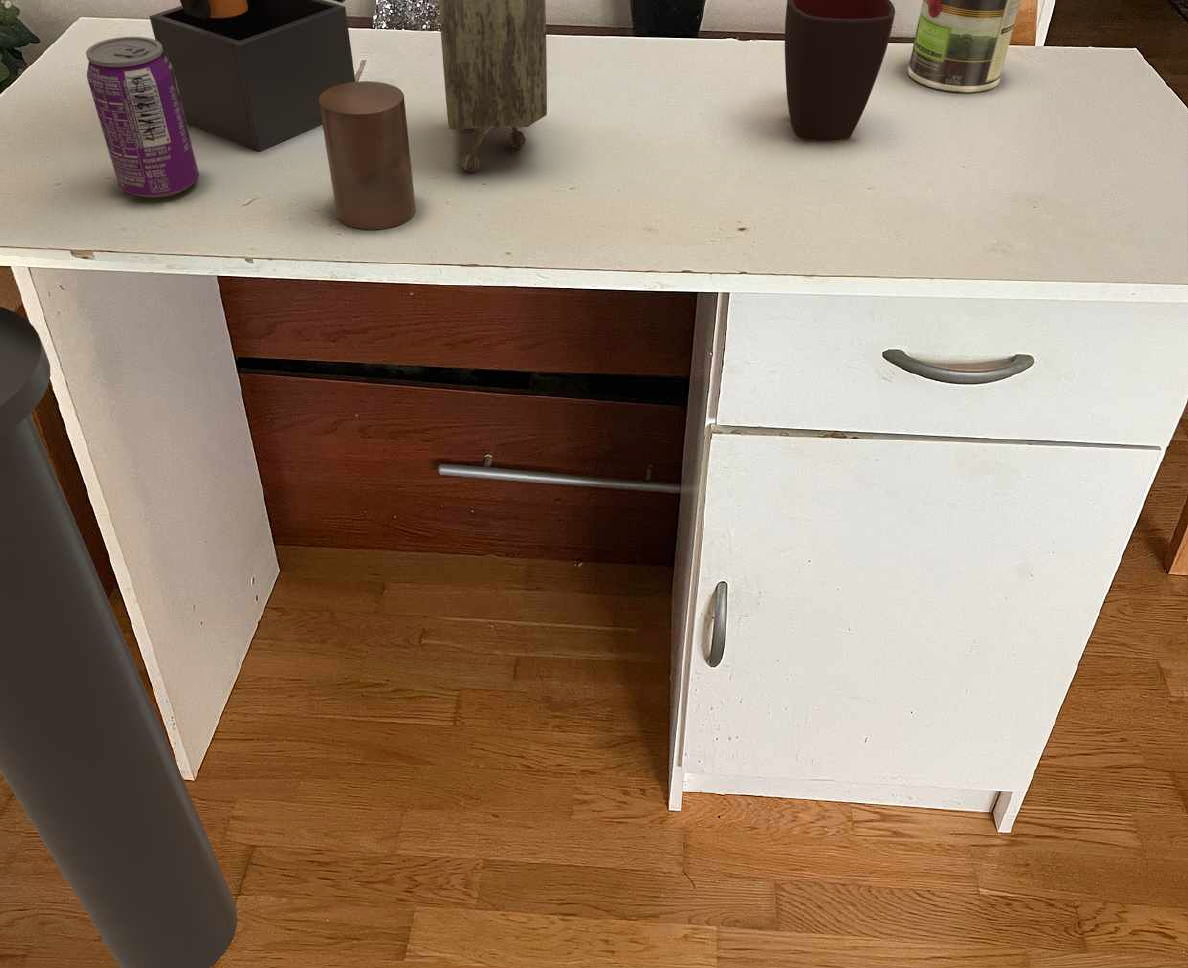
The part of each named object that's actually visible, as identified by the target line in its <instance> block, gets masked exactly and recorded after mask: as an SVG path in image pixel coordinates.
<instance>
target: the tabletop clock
mask: <svg viewBox="0 0 1188 968" xmlns="http://www.w3.org/2000/svg"><path fill="white" fill-rule="evenodd" d="M437 1H438V15H439V26H440V29H439V30H440V41H441V51H442V52H441V54H442V68H443V79H444V92H445V93H444V94H445V103H446V104H445V105H446V116H447V117H446V118H447V127H448V130H465V129H466V130H467V129H469V130H470V129H472V130H473V129H474V134H473V140H472V144H471V148H470V153H467V154H465V155H464V156H463V157H462V159H461V166H462V168H463V170H465V172H468V173H475V172H476V170H478V168H479V166H480V161H479V157H477V154H478V151H479V148H480V146H481V143H482V141H483V139H484V137H485V135H486V134H487V133H488V131H489V130H491V129H504V128H507V129H508V128H510V130H511V131H512V132H511V133H510V134H509V138H508V141H509V143H510V145H511V146H512V147H513V148H516V149H519V148H522V147H524V145H525V143H526V140H527V138H526V136H525V133H524V132H523V131H521V130H519V129H518V128H528V127H531V126H532V125H533V124H535V123H537V122H538V121H539V120H542V119H543V118H544V117H546V116H548V80H547V79H548V67H547V66H548V65H547V63H548V61H547V58H548V57H547V11H546V8H547V7H546V0H437Z"/></svg>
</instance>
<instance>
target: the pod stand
mask: <svg viewBox="0 0 1188 968" xmlns="http://www.w3.org/2000/svg"><path fill="white" fill-rule="evenodd" d="M405 102H406V101H405V95H404V92H403V90H401V89H400V88H399V87H397V86H395V85H393V84H390V83H385V82H380V81H370V80H369V81H368V80H365V81H362V80H361V81H355V82H350V83H345V84H340V85H337V86H334V87H331V88H329V89H327V90H326V91H324V92H323V93H322V94H321V95H320V97H319V105H320V112H321V118H322V124H321V125H322V131H323V137H324V142H325V149H326V156H327V161H328V167H329V175H330V181H331V186H332V195H333V200H334V205H335V211H336V212H335V213H336V217H337V219H338V220H339V221H340V222H341V223H343V224H344V225H346V226H348V227H351V228H354V229H360V230H371V231H373V230H374V231H375V230H385V229H386V230H387V229H390V228H395V227H398V226H400V225H403V224H404V223H407V222H408V221H410V220H411V219H412V218H413V217H414V216H415V214H416V211H417V207H416V198H415V188H414V178H413V169H412V159H411V150H410V140H409V132H408V130H409V129H408V121H407V111H406V103H405Z"/></svg>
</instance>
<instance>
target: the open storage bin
mask: <svg viewBox="0 0 1188 968" xmlns="http://www.w3.org/2000/svg"><path fill="white" fill-rule="evenodd" d="M247 5H248V10H247V11H246V12H245V13H243V14H241V15H238V16H234V17H229V18H207V19H201V18H198V17H195V16H192V15H189V14H186V13H185V12H184V10H183V7H182V5H178V6H177V7H174V8H171V9H168V10H164V11H161V12H158V13H154V14H152V15H149V21H150V25H151V28H152V32H153V37H154V40H156V41H158V42H160V43H161V45H162V48H163V54H164V55H165V56H166V58H167V59H168V60H169V62H170V63H171V65H172V67H173V70H174V74H175V78H176V82H177V86H178V90H179V94H180V98H181V102H182V106H183V111H184V115H185V119H186V123H187V125H188V126H192V127H194V128H197V129H200V130H202V131H205V132H208V133H210V134H212V135H216V136H218V137H219V138H223V139H226V140H228V141H231V142H234V143H237V144H239V145H241V146H244V147H246V148H249V149H252V150H256V151H257V152H262V151H264V150H266V149H269V148H271V147H273V146H275V145H278V144H280V143H282V142H285V141H286V140H289V139H291V138H294V137H296V136H298V135H300V134H302V133H305V132H307V131H310V130H312V129H314V128H317V127H318V126H321V125H323V124H322V118H321V112H320V105H319V97H320V95H321V94H322V93H323V92H324V91H326V90H327V89H329V88H331V87H334V86H337V85H340V84H345V83H350V82H356V76H355V69H354V60H353V54H352V46H351V39H350V38H351V37H350V32H349V24H348V23H349V22H348V17H347V10H346V6H344V5H342V4H339V3H335V2H331V1H328V0H259V1H257V2H254V3H253V2H250V1H247Z"/></svg>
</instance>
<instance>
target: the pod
mask: <svg viewBox="0 0 1188 968" xmlns="http://www.w3.org/2000/svg"><path fill="white" fill-rule="evenodd" d="M208 3H209V7H210V12H211V16H210V18H229V17H234V16H238V15H241V14H243V13H245V12H246V11H247V10H248V5H247V0H208Z"/></svg>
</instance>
